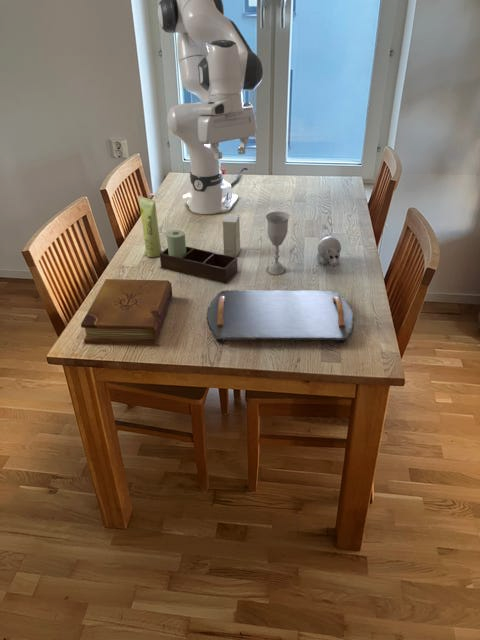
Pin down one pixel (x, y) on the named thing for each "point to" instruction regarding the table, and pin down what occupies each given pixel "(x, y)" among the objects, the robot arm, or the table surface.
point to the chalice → (277, 236)
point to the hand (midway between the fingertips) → (230, 156)
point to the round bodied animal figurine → (329, 251)
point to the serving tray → (280, 315)
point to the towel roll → (176, 243)
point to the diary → (128, 312)
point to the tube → (150, 226)
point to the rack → (201, 264)
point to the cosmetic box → (231, 235)
